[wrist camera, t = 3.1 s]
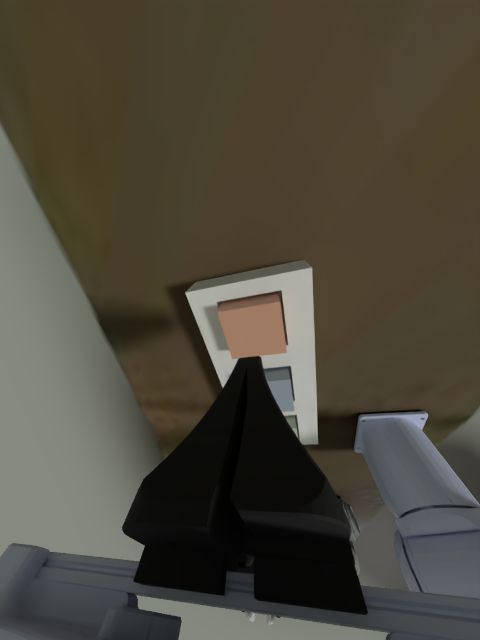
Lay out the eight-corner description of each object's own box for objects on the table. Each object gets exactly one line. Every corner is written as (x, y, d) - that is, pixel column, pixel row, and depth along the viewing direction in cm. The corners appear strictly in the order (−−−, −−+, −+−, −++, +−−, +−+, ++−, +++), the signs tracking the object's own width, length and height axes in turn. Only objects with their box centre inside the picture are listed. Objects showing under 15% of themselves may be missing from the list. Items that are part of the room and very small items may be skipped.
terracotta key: (283, 338, 17) (286, 352, 15) (234, 345, 18) (232, 359, 16) (277, 291, 15) (280, 301, 13) (221, 301, 15) (217, 312, 14)
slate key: (291, 394, 21) (294, 411, 19) (250, 398, 21) (249, 413, 20) (287, 364, 18) (290, 379, 17) (241, 368, 19) (240, 383, 17)
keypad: (312, 423, 26) (318, 444, 24) (246, 426, 28) (245, 445, 26) (303, 259, 15) (311, 267, 13) (195, 282, 17) (185, 292, 15)
